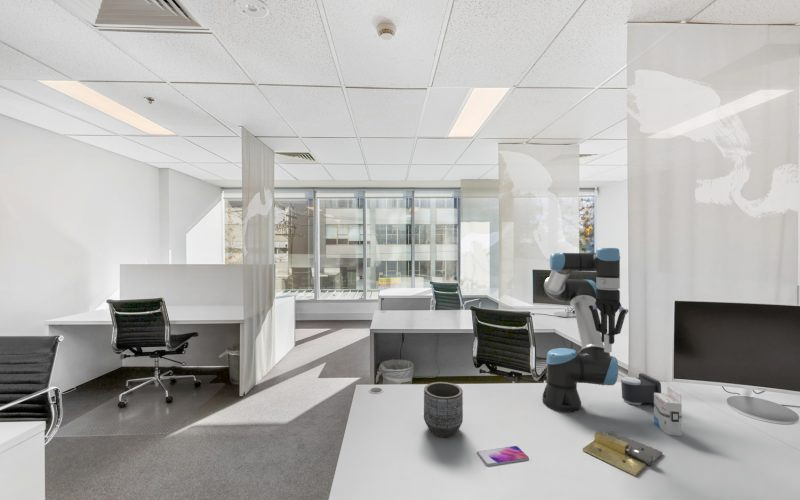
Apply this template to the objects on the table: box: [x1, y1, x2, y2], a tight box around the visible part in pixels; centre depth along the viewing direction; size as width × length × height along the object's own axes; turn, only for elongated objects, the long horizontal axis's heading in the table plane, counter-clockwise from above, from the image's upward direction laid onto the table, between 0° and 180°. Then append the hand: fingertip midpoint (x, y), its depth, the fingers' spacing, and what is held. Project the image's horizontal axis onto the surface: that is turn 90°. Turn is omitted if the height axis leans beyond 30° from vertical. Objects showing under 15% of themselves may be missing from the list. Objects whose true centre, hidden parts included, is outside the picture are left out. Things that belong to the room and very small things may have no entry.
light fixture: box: [620, 372, 662, 406], centre depth 143 cm, size 11×13×11 cm
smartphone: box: [476, 445, 530, 467], centre depth 104 cm, size 7×1×15 cm
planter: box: [423, 381, 464, 438], centre depth 120 cm, size 14×14×15 cm
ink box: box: [653, 385, 683, 436], centre depth 121 cm, size 9×5×15 cm, turn 168°
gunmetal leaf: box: [607, 431, 664, 466], centre depth 108 cm, size 15×11×3 cm
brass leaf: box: [582, 430, 647, 477], centre depth 104 cm, size 15×11×3 cm
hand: (607, 351), depth 122 cm, fingers closed
